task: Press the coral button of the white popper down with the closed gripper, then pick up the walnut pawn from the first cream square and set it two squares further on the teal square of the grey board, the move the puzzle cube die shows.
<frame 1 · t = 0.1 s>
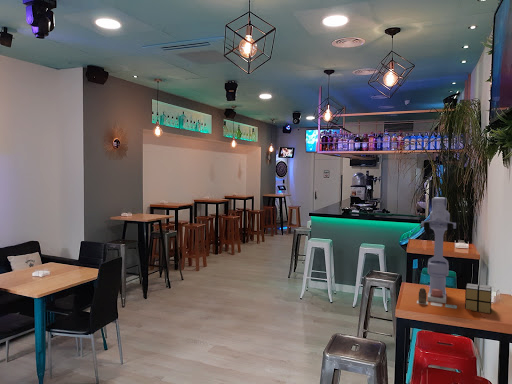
hand: (437, 238, 175), 32 cm above the table, tool tilted 50°, fingers open, 7 cm apart
board: (436, 305, 180), on the table
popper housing: (436, 301, 187), on the table
button: (437, 293, 187), point 4 cm above the table, slide at 0.0 cm
puzzle cube: (478, 309, 176), on the table
pawn: (422, 302, 182), point 1 cm above the table, touching board
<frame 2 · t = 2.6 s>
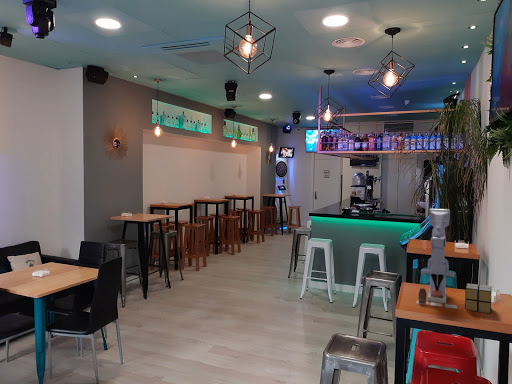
hand: (437, 290, 187), 5 cm above the table, tool pointing down, fingers closed, pressing on button
button: (437, 293, 187), point 4 cm above the table, slide at 0.0 cm, touching gripper
everything else where it was.
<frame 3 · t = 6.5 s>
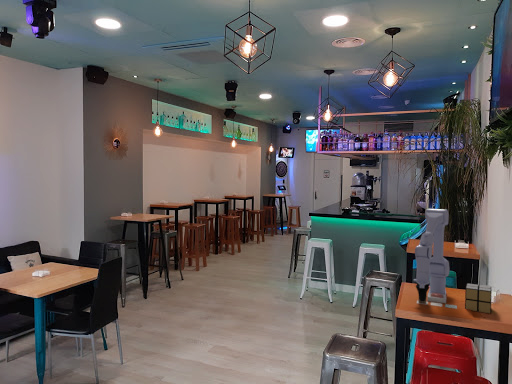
hand: (422, 299, 182), 2 cm above the table, tool pointing down, fingers closed on pawn, 3 cm apart
button: (436, 297, 187), point 2 cm above the table, slide at 2.0 cm
pawn: (422, 302, 182), point 1 cm above the table, touching board, gripper
everything else where it was.
when the fingers open (3 cm above the table, at t = 9.5 s): pawn stays where it is, resting on board.
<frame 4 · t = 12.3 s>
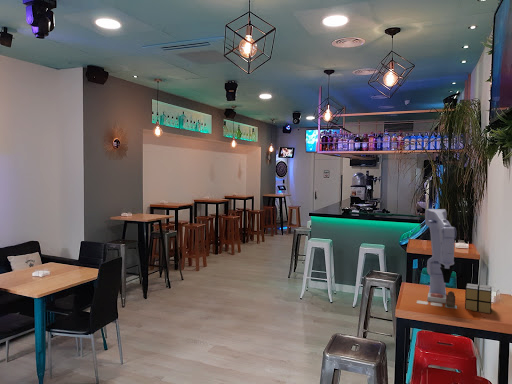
hand: (446, 280, 184), 10 cm above the table, tool pointing down, fingers open, 7 cm apart
pawn: (450, 306, 177), point 1 cm above the table, touching board
everything else where it was.
at the end: button slide at 2.0 cm; pawn 0.1 cm from the target spot on the board, point 0.6 cm above the board's base; pawn tilted 0° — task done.
